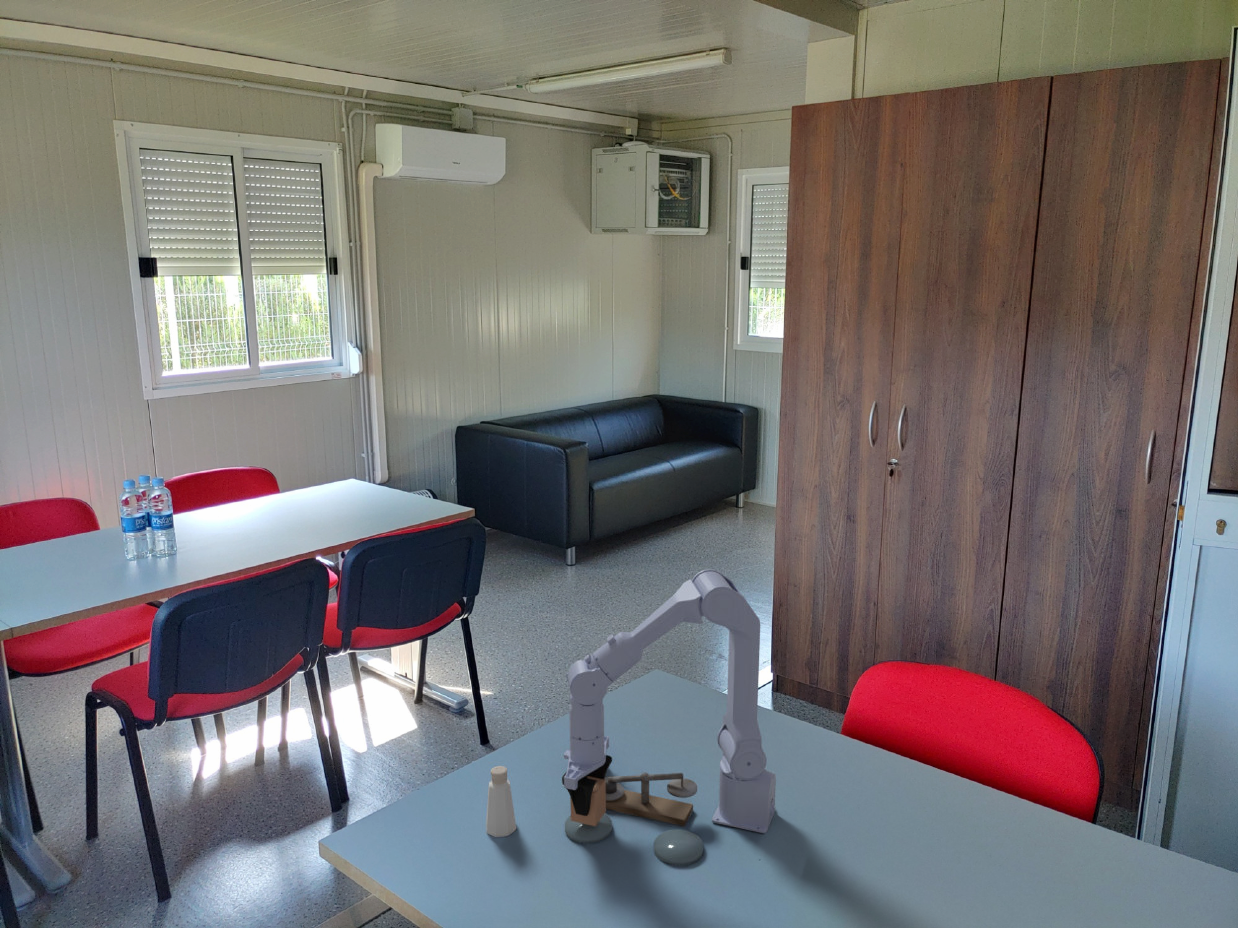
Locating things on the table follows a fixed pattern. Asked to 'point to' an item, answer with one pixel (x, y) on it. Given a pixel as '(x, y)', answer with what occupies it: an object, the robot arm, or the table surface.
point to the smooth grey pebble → (678, 847)
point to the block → (593, 805)
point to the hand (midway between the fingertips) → (588, 805)
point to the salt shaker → (500, 804)
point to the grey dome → (588, 830)
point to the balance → (651, 797)
